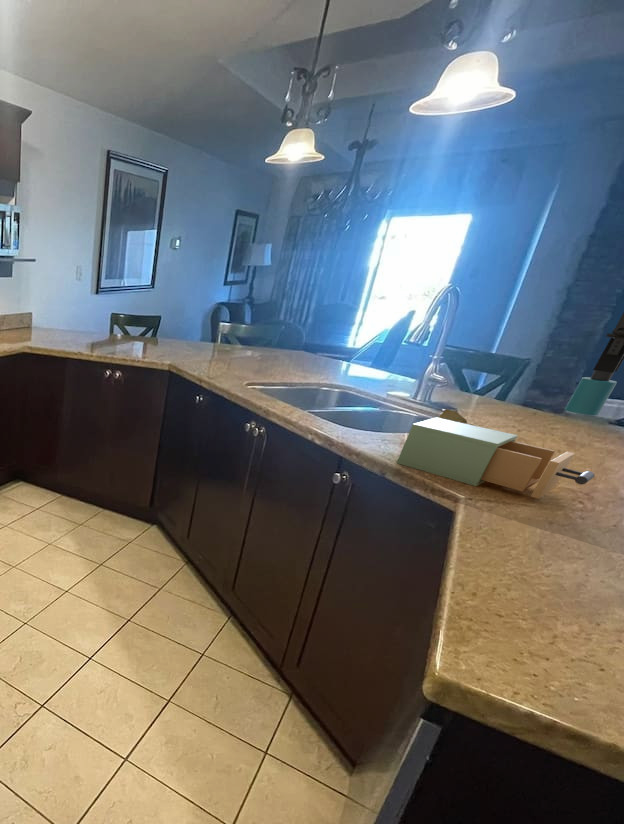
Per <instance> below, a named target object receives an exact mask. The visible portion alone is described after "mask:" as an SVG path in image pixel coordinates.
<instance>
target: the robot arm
mask: <svg viewBox="0 0 624 824" xmlns="http://www.w3.org/2000/svg"><path fill="white" fill-rule="evenodd" d="M605 337H606V338H610V339H609V340H608V342H607V344H606V346H605V348H604V350H603V351H602V353H601V355H600V357H599V358H598V360H597V363H596V364H595V366H594V367H593V371H595V370H597V371H604V372H612V373H613V372H614V371H615V372H618V370H619V368H620V367H621V365H622V363H623V362H624V356H623V355H624V312H623V313H622V315H621V316H620V318H619V320H618V322H617V324H616V326H615V328H614V329H613V330H612V333H609V332H607V334H606V336H605ZM622 357H623V358H622ZM619 362H620V363H619ZM618 364H619V365H618ZM615 369H616V370H615ZM615 372H614V373H615ZM614 373H613V374H614Z"/></svg>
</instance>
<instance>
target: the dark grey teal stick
mask: <svg viewBox="0 0 624 824" xmlns="http://www.w3.org/2000/svg"><path fill="white" fill-rule="evenodd" d="M623 356H624V355H623ZM622 358H623V357H622ZM619 363H620V362H619ZM618 365H619V364H618ZM615 370H616V369H615ZM615 373H616V371H614V372H613V373H612V372H604V371H597V370H593V372H592V374H591V376H590V377H589V376H583V377H581V379H580V381H579V383H578V384H577V385H576V388H575V390H574V392H573V393H572V395H571V396H570V399H569V401H568V403H567V404H566V406H565V408H564V411H567V412H570V413H574V414H579V415H584V416H599V414H600V413H601V411H602V409H603V407H604V405H605V404H606V402H607V401H608V399H609V397H610V395H611V394H612V392H613V390H614V389H615V387H616V385H617V383H618V382H617V381H616V380H611V378H612V377H613V375H614V374H615Z"/></svg>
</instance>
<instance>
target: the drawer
mask: <svg viewBox="0 0 624 824" xmlns="http://www.w3.org/2000/svg"><path fill="white" fill-rule="evenodd" d="M555 453H556V450H553V449H549V448H545V447H540V446H535V445H532V444H527V443H523V442H519V441H515V442H514V441H510V442H508V443H506V444H503V445H501V446H499V447H497V449H496V451H495V453H494V455H493V457H492V459H491V460H490V462H489V464H488V466H487V468H486V470H485V472H484V474H483V476H482V478H481V480H484V481H485V482H487V483H490V484H493V485H494V484H495V485H499V486H500V487H501V486H502V487H504V488H508V489H512V490H515V491H519V492H524V491H526V490H528V489H529V488H531V487H533V486H534V485H535V484H536V486H535V488H534V489H533V491H532V493H531V495H530V497H531V498H534V499H540V498H542V497H543V496H545V495H546V494H548V493H549V492H551V491H552V490H554V489H555V488H556V487H557V486H558V484H559V482H560V480H561V478H565V479H568V480H572V481H574V482H575V483H576V484H577V485H585V484H587V483H588V482H590V481H591V480H592V479H594V478H595V473H594V472H593V471H591V470H587V471H584V472H582V471H578V470H574V469H571V468H568V466H569V464H570V463H571V461H572V460H573V458H574V456H575V455H576V453H575V452H570V451H565V452H564V453H562V454H560V455H559V456H557V457H555V458H553V457H554V454H555ZM552 458H553V459H552ZM572 474H573V475H572ZM575 475H576V476H575Z"/></svg>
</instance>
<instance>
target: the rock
mask: <svg viewBox="0 0 624 824" xmlns="http://www.w3.org/2000/svg"><path fill="white" fill-rule="evenodd" d="M438 418H441V419H446V420H450V421H455V422H460V423H464V424H468V421H467V419H466V418H465V417H463V416H462V415H461V414H460V413H459V412H457V411H456V410H452V409H448V408H446V409H445V410H444V411H443V412H442V413H441V414H440V415H439V417H438Z"/></svg>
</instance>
